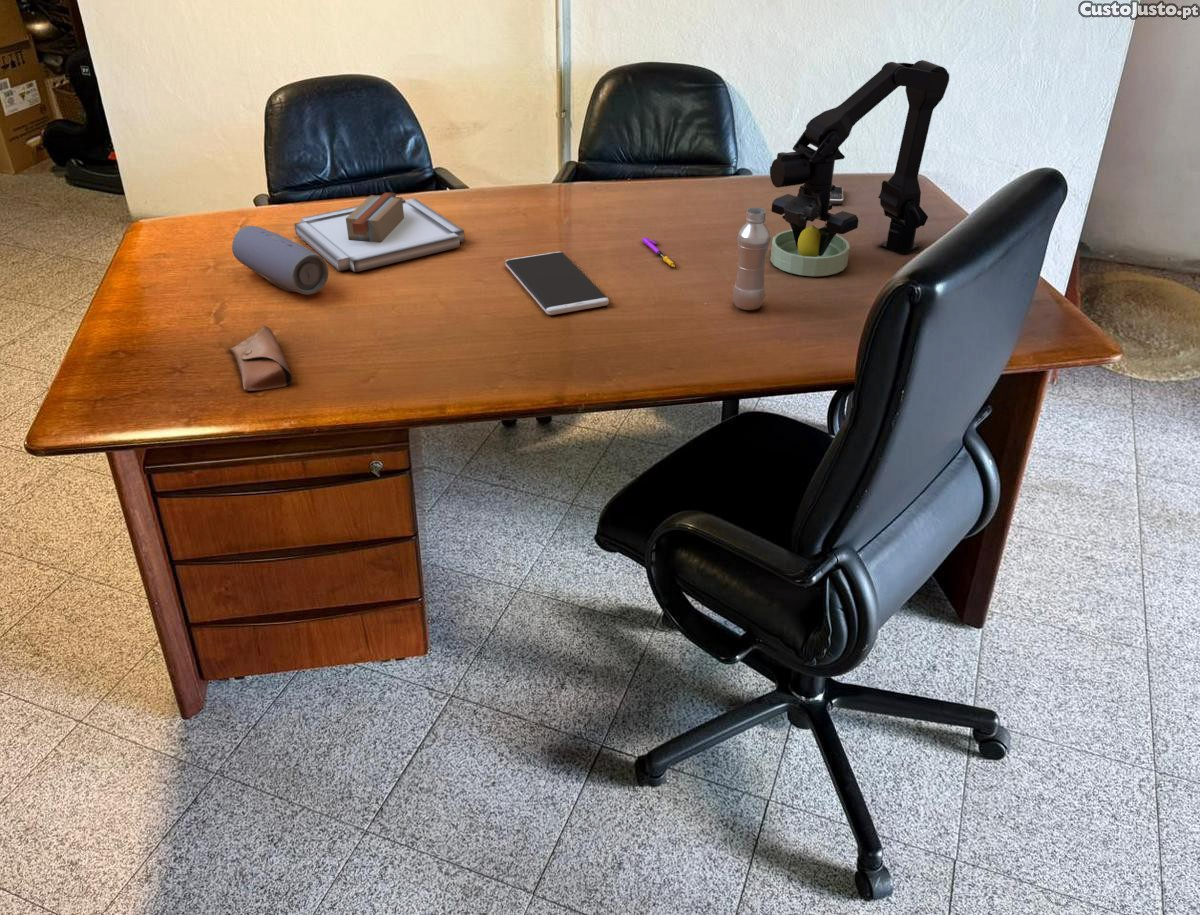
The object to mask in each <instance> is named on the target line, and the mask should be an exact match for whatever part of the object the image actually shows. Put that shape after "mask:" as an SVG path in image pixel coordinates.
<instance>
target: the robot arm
mask: <svg viewBox="0 0 1200 915" xmlns="http://www.w3.org/2000/svg"><path fill="white" fill-rule="evenodd" d="M949 83H950V73H949V71H948V70H947V69H946V68H945V67H944V66H942V65H938V64H935V63H933V62H930V61H927V60H924V59H921V60H917V61H916V62H915V63H910V62H895V61H889V62H886V63H885V64H884V65H883V66H882V67H881V69H880V70H879V71H878V72H877V73H876V74H875V75H873V76H872V77H871V78H870V79H868V80H867V81H866V82H865V83H864V84H863V85H861V86H860V87H859V88H858V89H857V90H855V91H854V92H853V93H852V94H851V95H850V96H849V97H847V98H846V100H845V99H844V101H843V102H842V103H840V104H839V105H837V106H835V107H833V108H831V109H827V110H825V111H823V112H820V113H819V114H818V115H816V116H814V117H813V118H812V119H810V120H809V121H808V122H807V124H806V126H805V129H804V131H803V132H802V134H801V135H800V137H799V138H798V140H797V141H796V142H795V143H794V145H793V147H792V150H793V151H790V152H784V151H782V152H777V154H776V158H775V159H773V161H772V162H771V165H770V167H769V177H770V181H771V183H772V185H773V186H774V187H775V188H786V187H792V186H799V185H800V186H799V189H798V192H797V195H793V194H790V193H787V194H784V195H781V196H779V197H777V198H774V199H773V201H772V203H771V210H770V211H771V213H774V214H776V215H780V216H781V218H782V219H783V220H785V222H786V223H788V224H789V225H790V228H791V230H792V231H793V235H794V239H795V243H796V247H797V248H798V239H799V236H800V234H801V232H802V231H803V230H804V229H805V228H807V224H808V221H809V222H814V221H815V220H819V221H822V222H824V226H822V227H820V228H818V229H819V231H820V233H821V238H820V245H819V256H822V255H823V254H824V252H825V251H826V249H827V247H828V246H829V244H830V242H831V241H832V239H833V238H834V236H835V235H836V234H837V235H844V234H847V233H849V232H852V231H853V230H856V229H858V226H859V217H858V216H857V214H854V213H851V212H848V211H845V210H841V211H839V212H836V213H831V212H829V211H831V210H833V207H834V206H833V205H834V204H830V195H831V191H834V190H835V186H836V185H835V184H833V178H834V172H835V171H834V170H835V164H836V161H840V160H844V159H846V156H845V154H843V153H842V152H841V151H840V149H839V148H840V147H841V146H842V145H843V143H844V142H845V141H846V140H847V139H848V138H849V136H850V134H851V132H852V129H853V128H854V126H855V125H856V124H857V123H858V122H859V121H860V120H861V119H862V118H864V117H865V116H866V115H867V114H868V113H869V112H871V111H872V110H873V109H874V108H875V107H877V106H879V104H880V103H881V102H883V101H884V100H885V99H886V98H887V97H888V96H889V95H891V94H892V93H893V92H894V91H896V90H897V89H898V88H899V87H905V94H906V99H907V103H908V109H907V113H906V117H905V118H906V119H905V124H904V128H903V133H902V137H901V142H900V146H899V151H898V155H897V160H896V165H895V168H894V173H893V174H892V176H891V177H890V178H888V180H885V179H884V180H883V181H882V182H881V188H880V189H881V190H880V193H879V195H878V199H879V204H880V206H881V208H882V209H883V213H884V216H885V217H888V218H889V219H890V222H889V228H888V233H887V239H886V241H884V242H881V243H880V246H879V247H881V248H883V249H887V250H890V251H892V252H897V253H899V254H903V255H906V254H909V253H910V252H913V251H915V250H916V249H918V248H920V246H921V245H920V244H919V243H916V242H915V238H916V232H917V229H919V228H920V227H924V226H925V225H926V223H927V221H928V219H929V215H927V213H926V212H925V211H924V209H923V208H922V207H921V198H922V197H921V196H922V191H921V187H920V182H919V173H920V169H921V164H922V160H923V156H924V151H925V147H926V143H927V138H928V134H929V129H930V124H931V121H932V117H933V112H934V109H935V108H936V107H937V106H938V105H939V104H940V102H941V101H942V100H943V98H944V96H945V93H946V91H947V89H948V85H949ZM809 145H811V146H813V147H815V148H816V149H814V148H813V147H810V146H809Z"/></svg>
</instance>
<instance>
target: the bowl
mask: <svg viewBox="0 0 1200 915" xmlns="http://www.w3.org/2000/svg"><path fill="white" fill-rule="evenodd" d="M771 239H772V240H771V250H770V260H769V261H770V262H771V264H772V265H773V266H774V267H776V268H778V269H779V270H780V271H784V272H786V273H789V274H794V275H798V276H803V277H804V276H805V277H826V276H830V275H836V274H838V273H841V272H843V271H844V270H845V269H846V268H847V266H848V263H849V262H848V261H849V255H850V243H849V241H848V240H846V238H845V237H842V236H841V235H840V234H838V233H837V234H836V235H835V236H834V238H833V239H832V241H831V242H830V244H829V246H828V247H827V249H826V251H825V252H824V254H823V255H822V256H818V257H808V256H801V255H800V253H799V251H798V248H797V247H796V243H795V239H794V235H793V231H792V229H788V230H784V231H782V232H779V233H776V234H775V235H774V236H773V237H772V238H771Z"/></svg>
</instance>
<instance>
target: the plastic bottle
mask: <svg viewBox="0 0 1200 915" xmlns="http://www.w3.org/2000/svg"><path fill="white" fill-rule="evenodd" d="M766 211H767V210H766V209H765V208H762V207H757V206H755V207H753V206H752V207H748V208H747V210H746V215H745V221H746V222H745V223H744V224H743V226H742V227H741V228H740V229H739V231H738V234H737V236H736V237H737V238H736V239H737V240H736V241H737V242H736V243H737V271H736V277H735V283H734V286H733V289H732V302H733V304H734V305H735V307H736V308H738V309H740V310H744V311H754V310H757V309H760V308H761V307H762V306H763V304H764V303H765V302H764V301H765V298H766V286H765V269H766V261H767V256H768V252H769V247H770V243H771V234H770V230H769V228H768V227H767V226H766V224H765V222H766V220H767V217H766V216H767V215H766V214H767V212H766Z"/></svg>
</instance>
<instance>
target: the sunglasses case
mask: <svg viewBox="0 0 1200 915" xmlns="http://www.w3.org/2000/svg"><path fill="white" fill-rule="evenodd" d="M230 352H231V353H232V355H233V356H234V359H235V362H236V364H237V366H238V369H239V372H240V377H241V381H242V387H243V391H246V392H258V391H268V390H273V389H279V388H283V387H285V388H286V387H287V386H288V385H290V383H291V382H292V380H293V376H292V373H291V370H290V367H289V365H288V363H287V360H286V358H285V356H284V353H283V351H282V349H281V346H280V344H279V342H278V340H277V338H276V336H275V334H274V332H273V331H272V329H271V328H270V327H269V326H267V325H263V326H262V327H261V328H260V329H259V331H257V332H256V333H254V334H252V335H250V336H249V337H248V338H246V339H245V340H242V341H241V342H240V343H237V345H235V346H233V347H231V348H230Z"/></svg>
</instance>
